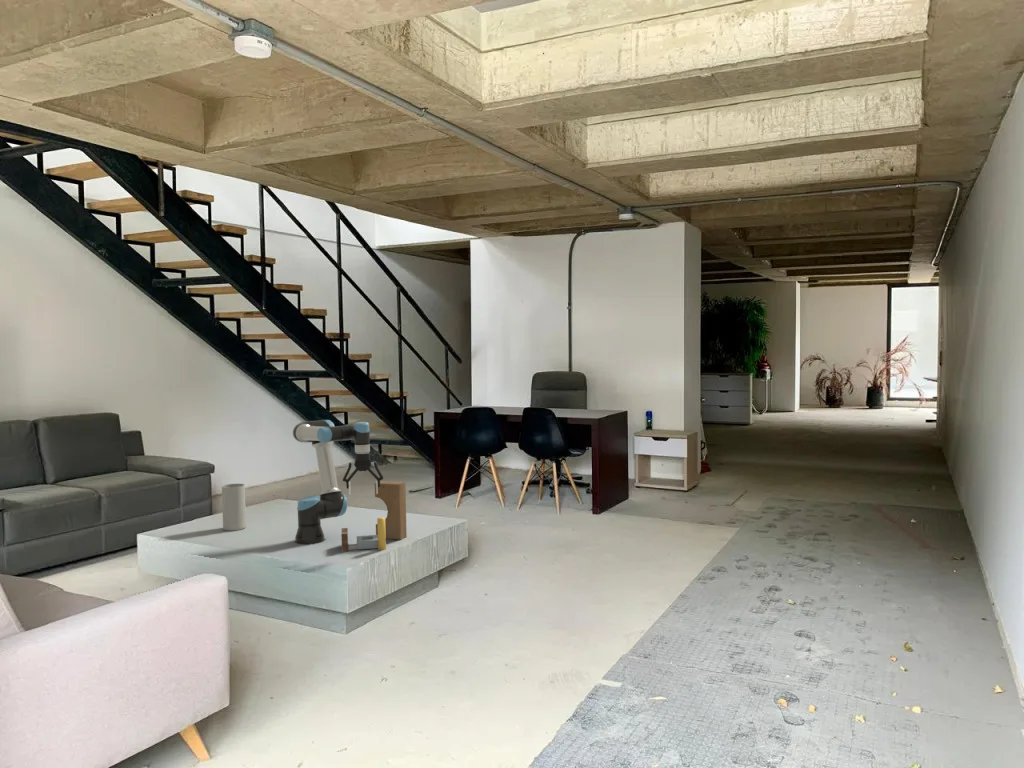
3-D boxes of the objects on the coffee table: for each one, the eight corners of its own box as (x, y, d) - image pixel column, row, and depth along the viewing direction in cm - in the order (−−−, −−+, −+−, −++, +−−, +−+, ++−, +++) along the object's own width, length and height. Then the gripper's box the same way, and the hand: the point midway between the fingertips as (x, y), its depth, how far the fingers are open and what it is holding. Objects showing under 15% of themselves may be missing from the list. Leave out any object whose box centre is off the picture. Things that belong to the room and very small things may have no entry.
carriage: (356, 544, 399) (356, 536, 399) (378, 542, 401) (377, 534, 401) (357, 549, 388) (356, 541, 388) (378, 547, 391) (378, 540, 390)
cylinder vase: (250, 527, 443) (249, 484, 441) (232, 532, 432) (230, 488, 431) (237, 525, 450) (235, 482, 448) (218, 529, 439) (216, 486, 438)
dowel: (377, 548, 391) (377, 517, 390) (385, 547, 392) (385, 517, 391) (378, 550, 387) (377, 519, 386) (386, 549, 388) (385, 518, 387)
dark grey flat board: (348, 546, 397) (348, 545, 397) (384, 543, 401) (384, 543, 401) (348, 550, 389) (348, 549, 389) (385, 547, 393) (385, 547, 393)
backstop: (342, 545, 398) (341, 528, 398) (348, 545, 399) (347, 527, 399) (341, 551, 386) (341, 534, 385) (348, 551, 386) (347, 533, 386)
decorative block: (407, 536, 414) (405, 481, 413) (400, 540, 407) (399, 484, 406) (382, 534, 419) (381, 480, 418) (375, 538, 412) (374, 483, 411)
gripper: (336, 454, 381) (338, 496, 382) (387, 452, 386) (388, 494, 387) (337, 452, 389) (338, 493, 390) (387, 450, 393) (388, 491, 394)
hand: (363, 494), depth 388 cm, fingers open, 13 cm apart
